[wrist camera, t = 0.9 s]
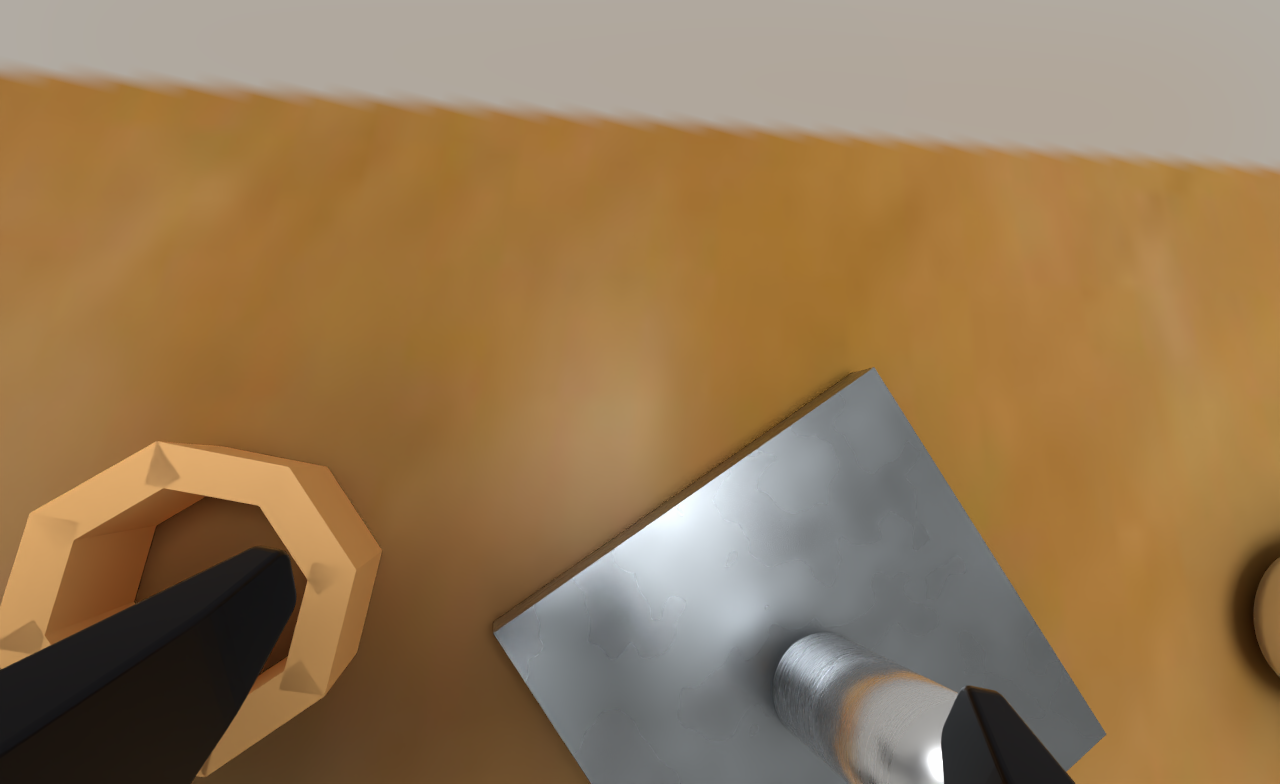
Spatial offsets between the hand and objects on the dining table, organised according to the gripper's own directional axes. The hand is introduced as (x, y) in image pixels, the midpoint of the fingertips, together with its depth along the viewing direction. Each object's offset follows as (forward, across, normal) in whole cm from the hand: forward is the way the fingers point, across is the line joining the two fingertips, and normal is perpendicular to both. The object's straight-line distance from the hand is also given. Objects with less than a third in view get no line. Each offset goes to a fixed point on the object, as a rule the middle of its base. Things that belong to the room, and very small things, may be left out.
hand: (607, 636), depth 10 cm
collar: (+7, +11, +8) cm, 15 cm away
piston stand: (+10, -5, +11) cm, 16 cm away
